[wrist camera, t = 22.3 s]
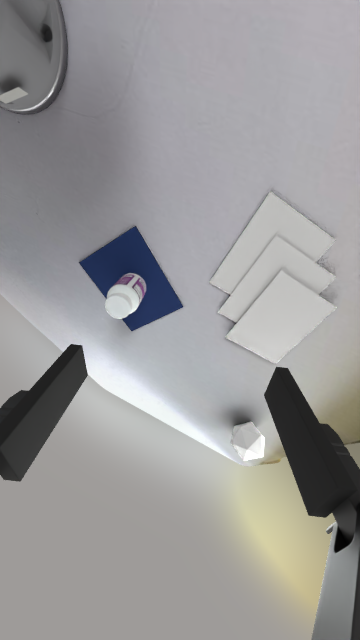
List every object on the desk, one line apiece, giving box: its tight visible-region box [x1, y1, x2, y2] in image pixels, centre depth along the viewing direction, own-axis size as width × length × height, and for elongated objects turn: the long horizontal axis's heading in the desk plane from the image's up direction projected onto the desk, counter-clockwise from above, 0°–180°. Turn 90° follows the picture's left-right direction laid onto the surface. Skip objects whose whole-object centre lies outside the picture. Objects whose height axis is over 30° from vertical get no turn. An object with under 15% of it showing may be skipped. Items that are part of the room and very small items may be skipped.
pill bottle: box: [105, 273, 146, 319], centre depth 35 cm, size 5×5×10 cm
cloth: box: [79, 226, 183, 331], centre depth 39 cm, size 17×13×1 cm
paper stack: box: [209, 191, 337, 364], centre depth 38 cm, size 23×25×1 cm
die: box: [230, 421, 265, 461], centre depth 55 cm, size 8×9×10 cm
